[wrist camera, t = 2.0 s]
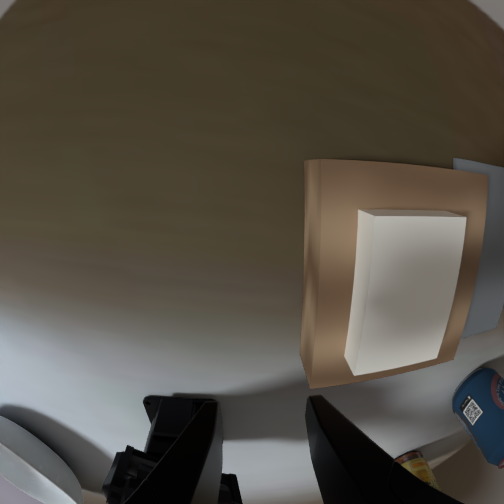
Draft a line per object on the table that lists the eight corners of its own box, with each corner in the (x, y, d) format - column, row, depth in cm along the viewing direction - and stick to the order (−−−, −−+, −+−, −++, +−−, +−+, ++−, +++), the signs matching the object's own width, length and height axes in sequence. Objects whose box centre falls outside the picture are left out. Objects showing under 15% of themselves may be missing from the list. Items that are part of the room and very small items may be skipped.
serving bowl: (-1, 444, 28) (-15, 467, 21) (-32, 369, 22) (-57, 396, 16) (96, 497, 30) (87, 526, 24) (88, 443, 25) (71, 485, 18)
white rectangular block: (422, 342, 17) (436, 358, 15) (344, 356, 17) (353, 376, 15) (445, 210, 14) (466, 217, 13) (358, 209, 14) (374, 216, 12)
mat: (494, 326, 22) (496, 327, 22) (427, 344, 22) (429, 346, 22) (520, 172, 18) (522, 172, 17) (453, 158, 17) (456, 158, 17)
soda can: (498, 362, 24) (551, 417, 13) (470, 405, 26) (513, 463, 14) (468, 363, 23) (528, 431, 12) (438, 410, 25) (483, 480, 14)
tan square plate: (429, 335, 22) (453, 359, 18) (300, 354, 21) (310, 388, 18) (453, 170, 18) (488, 175, 14) (304, 160, 17) (321, 159, 14)
